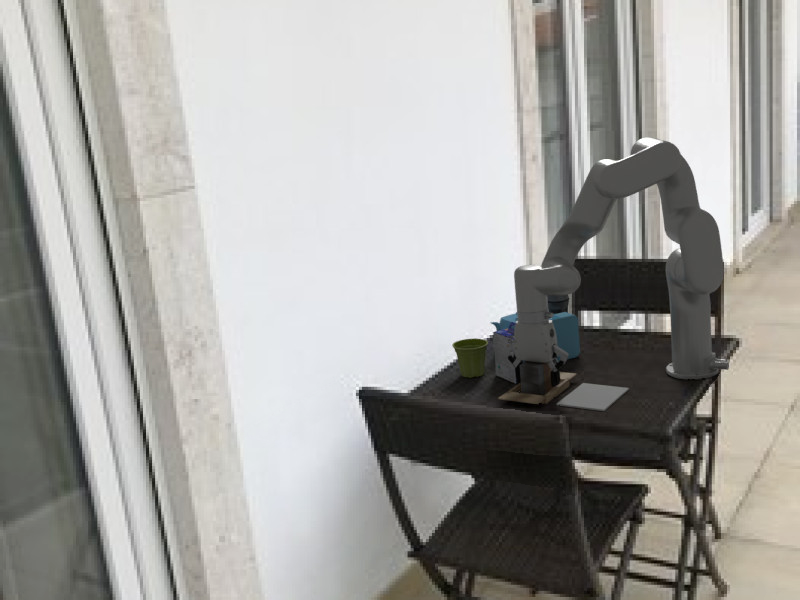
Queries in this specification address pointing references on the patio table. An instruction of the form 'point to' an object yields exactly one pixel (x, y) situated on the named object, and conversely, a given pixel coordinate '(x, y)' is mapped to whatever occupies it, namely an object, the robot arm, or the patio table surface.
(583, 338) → the patio table surface
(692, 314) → the robot arm
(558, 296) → the beverage cup
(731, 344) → the patio table surface
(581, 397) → the mat
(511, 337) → the ink cartridge box
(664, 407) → the patio table surface
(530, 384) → the walnut box
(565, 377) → the tan flat frame
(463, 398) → the patio table surface
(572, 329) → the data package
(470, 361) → the plant pot
